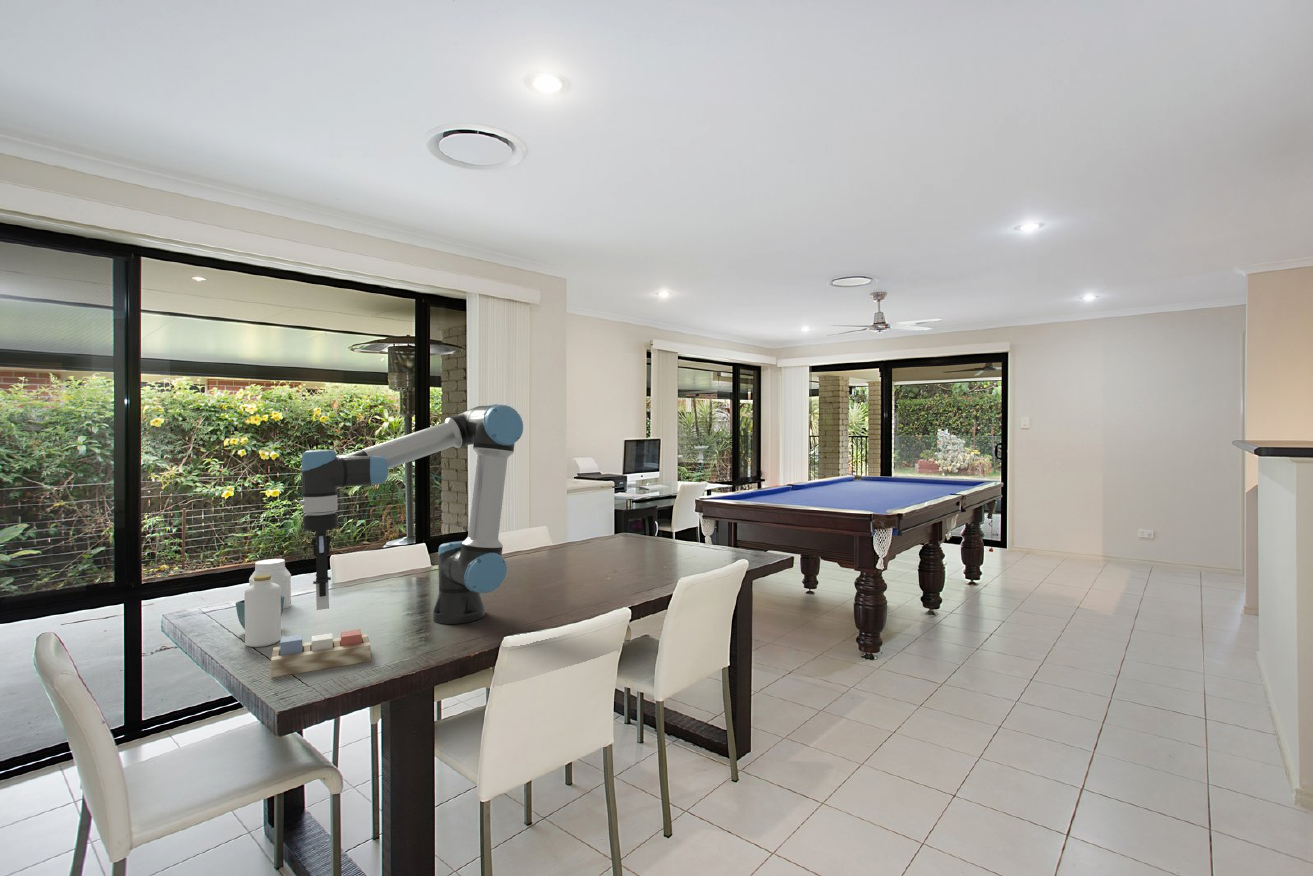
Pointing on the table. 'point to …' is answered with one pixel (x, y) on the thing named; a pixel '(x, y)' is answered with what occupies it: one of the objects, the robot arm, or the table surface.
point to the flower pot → (241, 610)
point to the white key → (322, 642)
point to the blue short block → (291, 645)
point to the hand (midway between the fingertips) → (322, 608)
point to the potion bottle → (262, 612)
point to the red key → (351, 637)
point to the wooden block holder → (320, 657)
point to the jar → (275, 576)
